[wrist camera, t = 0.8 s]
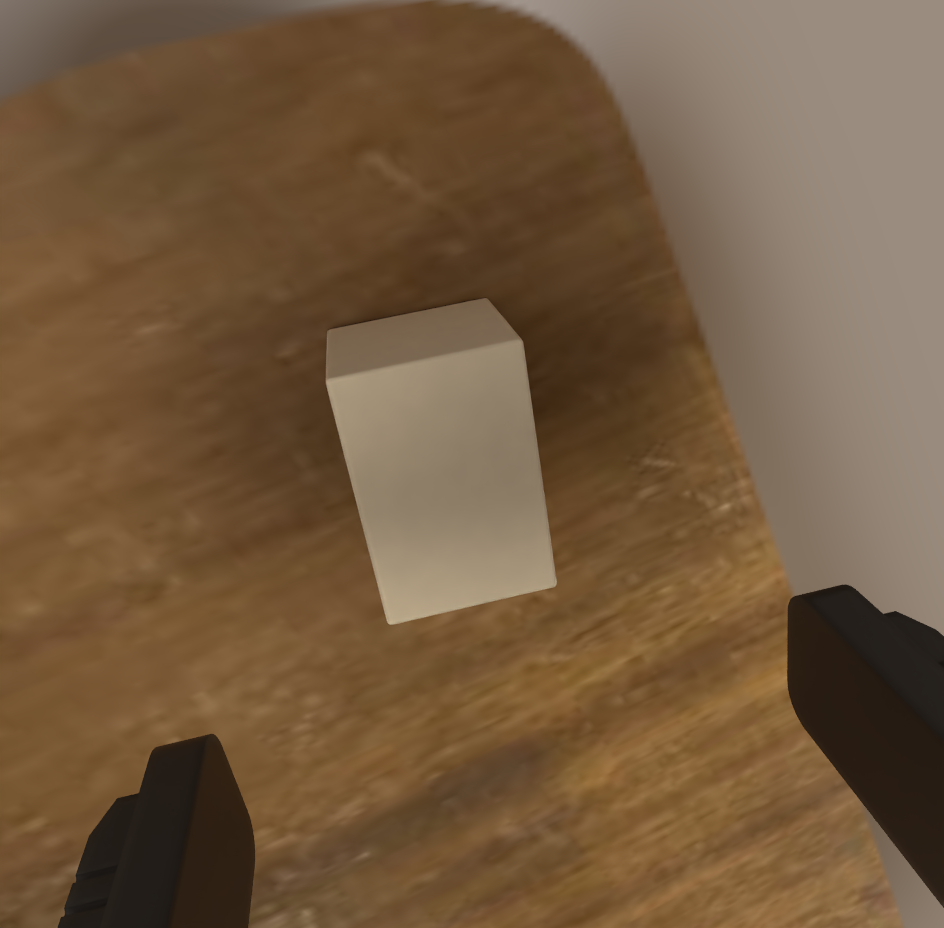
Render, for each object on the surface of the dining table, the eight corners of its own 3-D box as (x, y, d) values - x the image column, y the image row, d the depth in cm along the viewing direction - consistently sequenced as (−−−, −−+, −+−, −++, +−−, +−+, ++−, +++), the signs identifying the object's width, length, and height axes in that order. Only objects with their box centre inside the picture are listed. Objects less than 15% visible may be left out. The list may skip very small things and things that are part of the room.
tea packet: (326, 328, 19) (324, 380, 15) (487, 296, 19) (523, 338, 16) (378, 541, 22) (388, 627, 18) (521, 509, 22) (558, 587, 18)
